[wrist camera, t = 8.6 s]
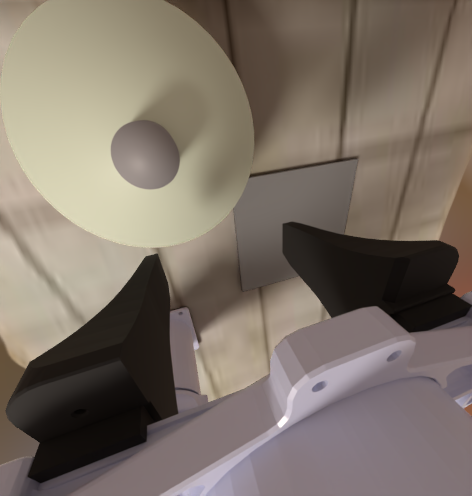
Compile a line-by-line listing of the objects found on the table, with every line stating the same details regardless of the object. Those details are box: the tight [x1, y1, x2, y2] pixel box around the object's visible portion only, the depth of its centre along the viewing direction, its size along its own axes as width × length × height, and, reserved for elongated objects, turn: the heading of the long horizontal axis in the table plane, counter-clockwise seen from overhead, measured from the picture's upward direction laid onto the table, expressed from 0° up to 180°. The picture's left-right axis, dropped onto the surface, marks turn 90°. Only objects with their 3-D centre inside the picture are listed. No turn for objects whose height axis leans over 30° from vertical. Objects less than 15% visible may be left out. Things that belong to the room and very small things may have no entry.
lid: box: [0, 0, 254, 248], centre depth 12 cm, size 13×13×4 cm
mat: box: [233, 158, 358, 292], centre depth 26 cm, size 14×14×1 cm
